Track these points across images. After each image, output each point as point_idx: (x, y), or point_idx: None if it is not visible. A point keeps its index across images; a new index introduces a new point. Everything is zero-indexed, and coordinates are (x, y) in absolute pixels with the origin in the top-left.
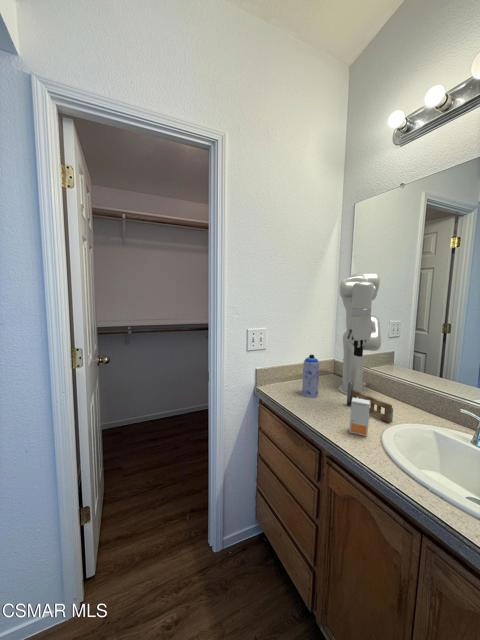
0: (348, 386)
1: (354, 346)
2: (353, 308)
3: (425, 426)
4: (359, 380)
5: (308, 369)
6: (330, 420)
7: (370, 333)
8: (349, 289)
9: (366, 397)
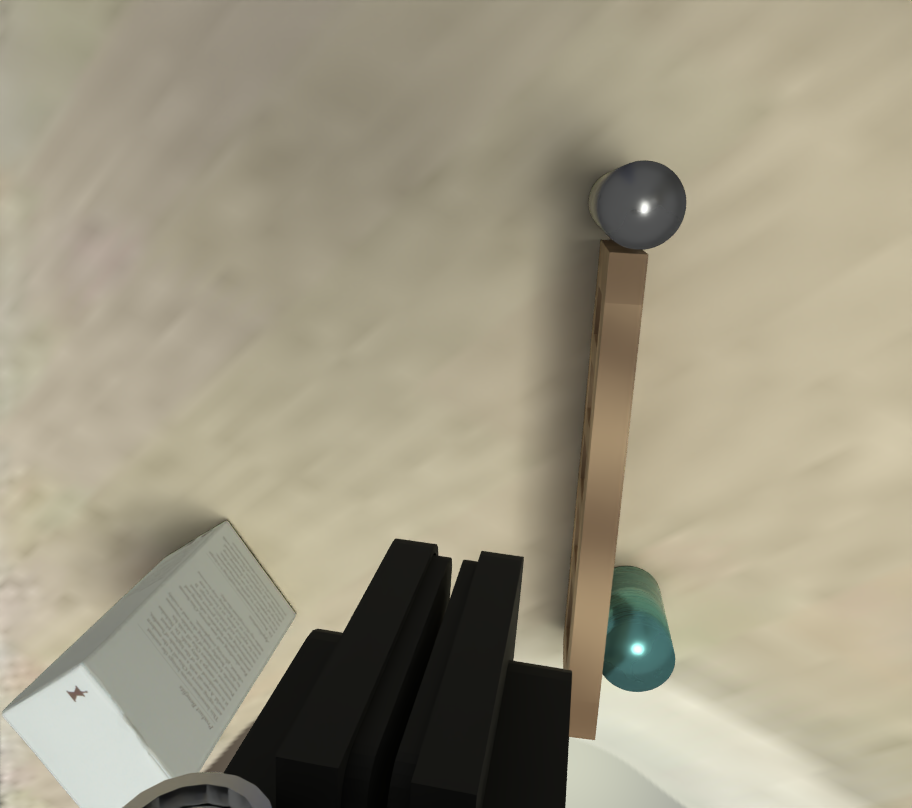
0: (597, 198)
1: (289, 752)
2: None
3: (787, 792)
4: None
5: None
6: (172, 358)
7: None
8: None
9: (588, 466)
